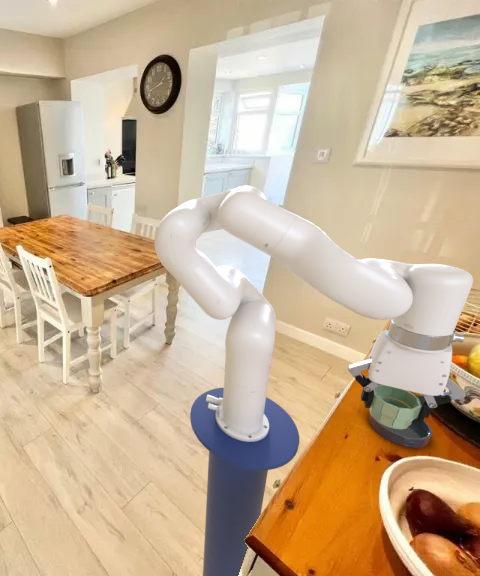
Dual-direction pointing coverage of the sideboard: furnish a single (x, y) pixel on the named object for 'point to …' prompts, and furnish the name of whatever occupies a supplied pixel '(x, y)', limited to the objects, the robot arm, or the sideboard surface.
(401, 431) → the bottom bowl
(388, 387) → the top bowl
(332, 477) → the sideboard surface
